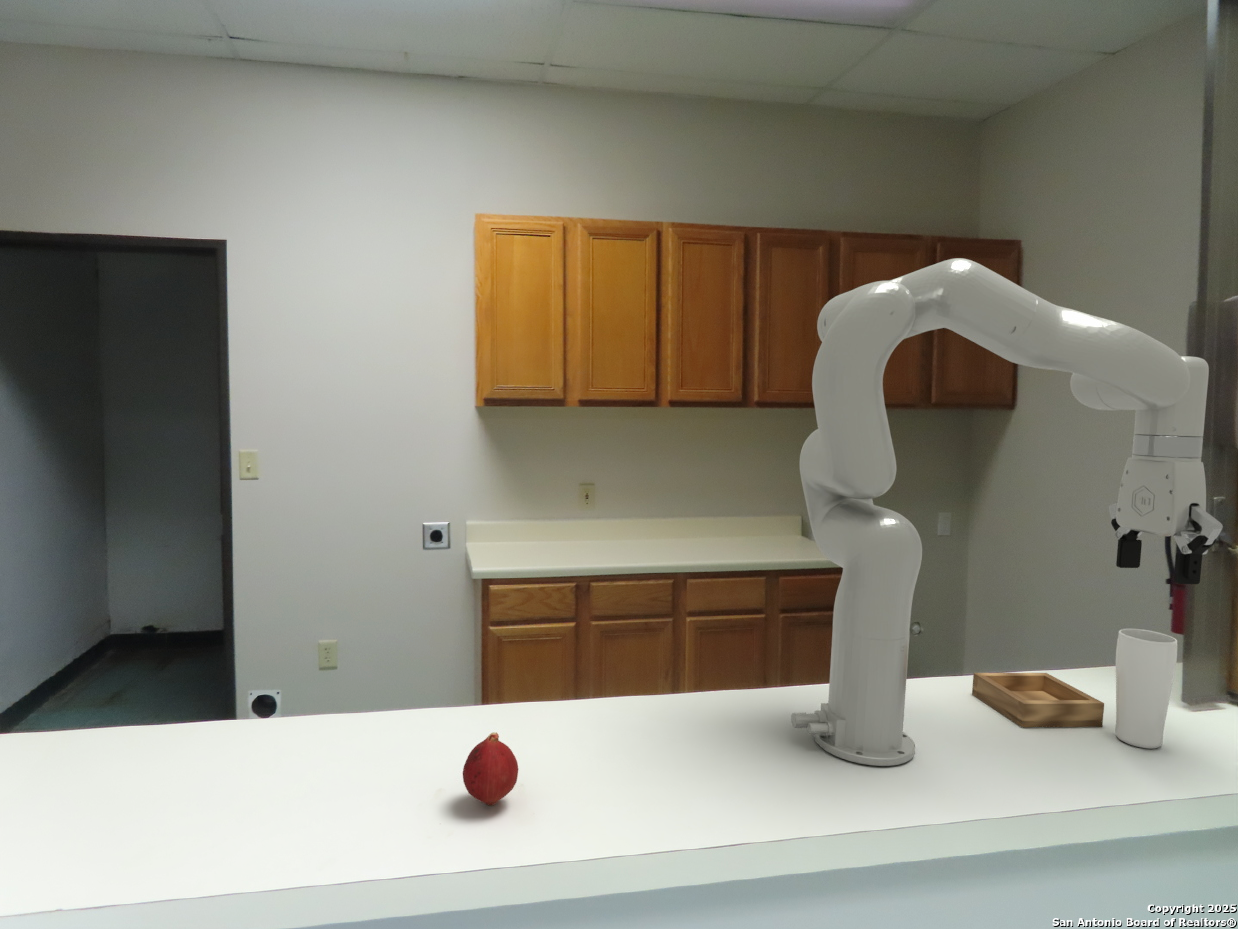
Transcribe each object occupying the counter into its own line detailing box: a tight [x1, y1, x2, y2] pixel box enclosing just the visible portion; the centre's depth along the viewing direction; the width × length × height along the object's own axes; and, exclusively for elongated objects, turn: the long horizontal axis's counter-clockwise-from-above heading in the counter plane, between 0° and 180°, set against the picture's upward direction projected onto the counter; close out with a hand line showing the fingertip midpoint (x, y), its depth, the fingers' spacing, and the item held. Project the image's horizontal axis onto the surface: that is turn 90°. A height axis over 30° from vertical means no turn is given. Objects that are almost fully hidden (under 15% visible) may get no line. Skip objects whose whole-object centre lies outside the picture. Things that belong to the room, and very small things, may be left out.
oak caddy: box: [971, 672, 1105, 729], centre depth 113 cm, size 12×12×4 cm
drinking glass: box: [1115, 628, 1178, 750], centre depth 103 cm, size 7×7×15 cm
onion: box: [462, 731, 519, 806], centre depth 81 cm, size 6×6×8 cm
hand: (1155, 575), depth 102 cm, fingers open, 9 cm apart
